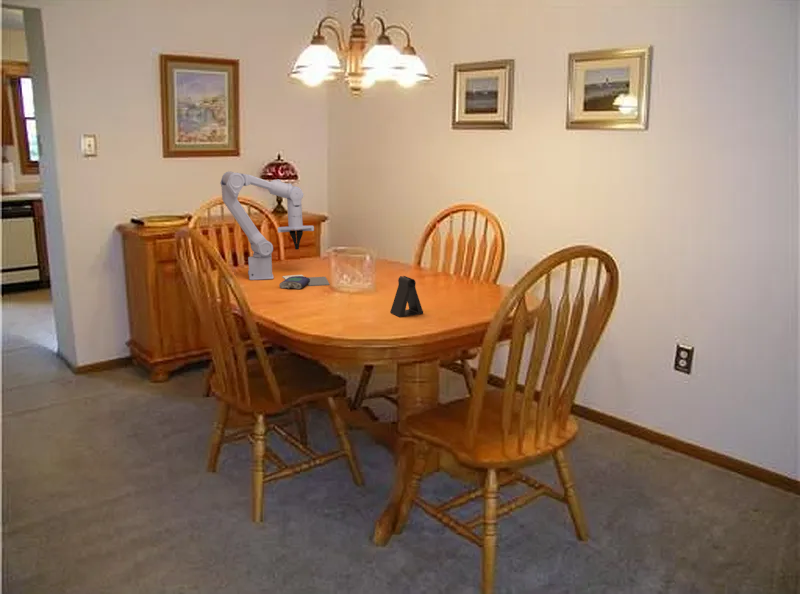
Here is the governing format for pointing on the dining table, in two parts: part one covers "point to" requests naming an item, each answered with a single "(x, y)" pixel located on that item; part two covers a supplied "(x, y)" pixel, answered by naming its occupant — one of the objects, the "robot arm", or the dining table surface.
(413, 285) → the phone stand
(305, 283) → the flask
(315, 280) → the board
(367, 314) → the dining table surface
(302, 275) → the napkin
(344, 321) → the dining table surface
